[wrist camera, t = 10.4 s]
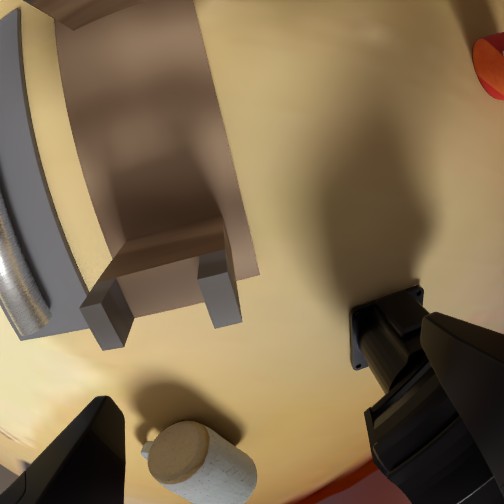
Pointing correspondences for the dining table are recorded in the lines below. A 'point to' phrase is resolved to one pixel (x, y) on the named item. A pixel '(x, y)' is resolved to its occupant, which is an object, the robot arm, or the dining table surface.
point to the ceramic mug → (200, 465)
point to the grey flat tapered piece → (33, 196)
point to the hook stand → (151, 161)
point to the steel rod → (19, 282)
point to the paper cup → (490, 64)
